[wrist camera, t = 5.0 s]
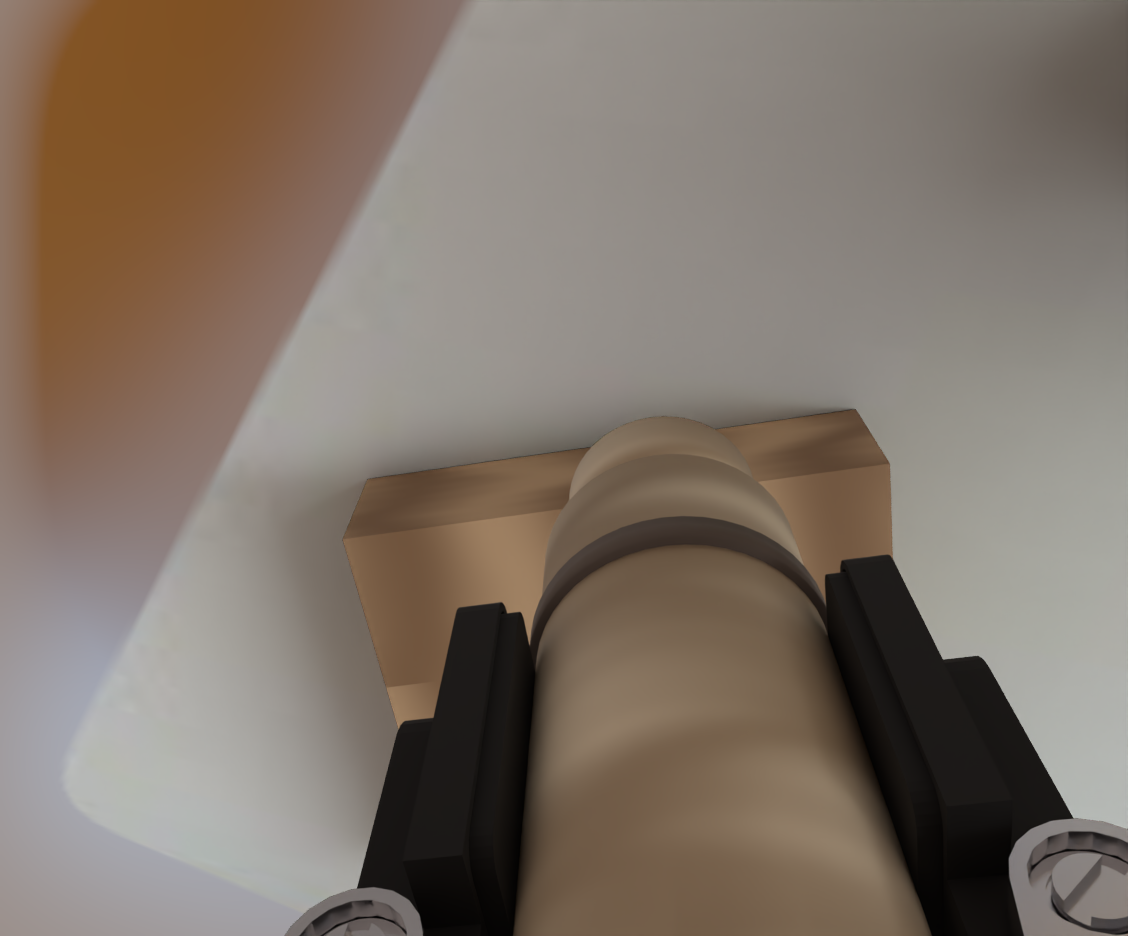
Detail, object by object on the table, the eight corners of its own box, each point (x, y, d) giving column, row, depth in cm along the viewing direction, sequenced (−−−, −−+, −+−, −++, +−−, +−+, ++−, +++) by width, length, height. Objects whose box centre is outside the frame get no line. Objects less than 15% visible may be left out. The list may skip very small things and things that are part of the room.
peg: (770, 376, 16) (1284, 1583, 4) (788, 586, 17) (1189, 1880, 6) (525, 410, 16) (335, 1611, 4) (565, 613, 18) (503, 1879, 6)
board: (855, 409, 33) (889, 463, 29) (872, 789, 40) (902, 871, 36) (367, 479, 34) (342, 539, 31) (465, 835, 41) (454, 919, 37)
